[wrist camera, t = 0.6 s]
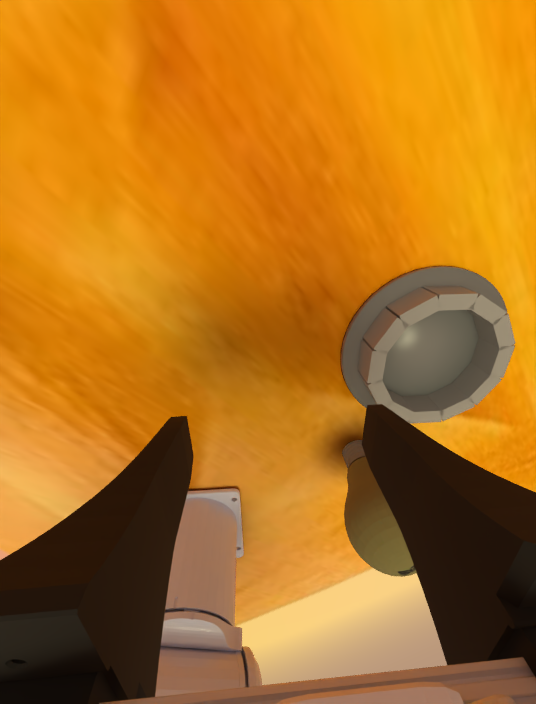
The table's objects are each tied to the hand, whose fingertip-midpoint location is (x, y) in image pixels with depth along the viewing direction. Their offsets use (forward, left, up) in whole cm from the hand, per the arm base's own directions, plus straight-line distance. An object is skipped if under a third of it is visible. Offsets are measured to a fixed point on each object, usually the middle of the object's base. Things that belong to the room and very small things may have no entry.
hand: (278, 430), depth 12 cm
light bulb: (-11, -8, -10) cm, 17 cm away
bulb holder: (-2, -12, -10) cm, 15 cm away
